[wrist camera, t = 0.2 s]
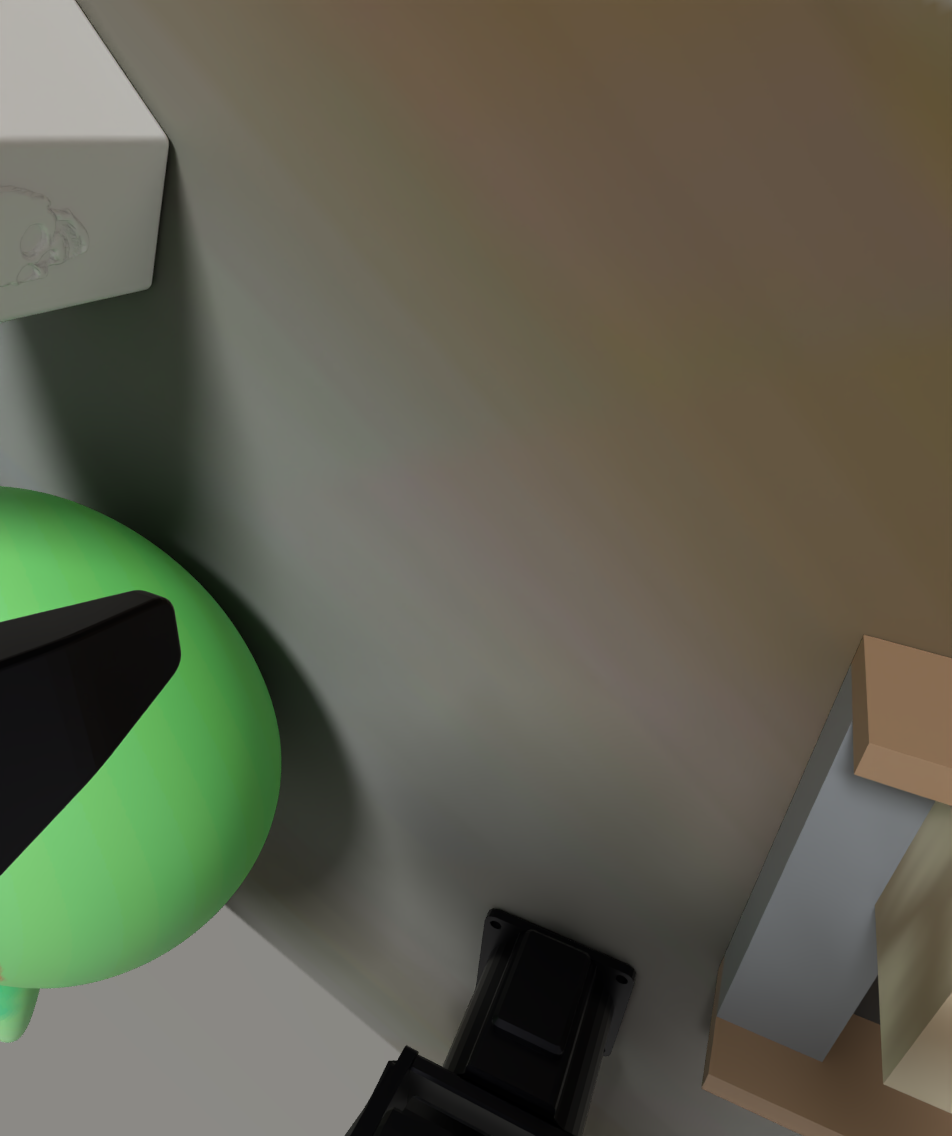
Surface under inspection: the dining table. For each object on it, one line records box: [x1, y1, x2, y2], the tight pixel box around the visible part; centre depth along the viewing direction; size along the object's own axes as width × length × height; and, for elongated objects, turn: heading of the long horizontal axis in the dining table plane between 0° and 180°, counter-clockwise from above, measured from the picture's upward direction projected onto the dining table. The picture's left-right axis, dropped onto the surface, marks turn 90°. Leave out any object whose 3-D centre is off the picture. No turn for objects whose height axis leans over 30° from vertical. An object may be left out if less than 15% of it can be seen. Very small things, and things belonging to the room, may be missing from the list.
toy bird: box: [0, 486, 281, 1043], centre depth 26 cm, size 18×17×15 cm
